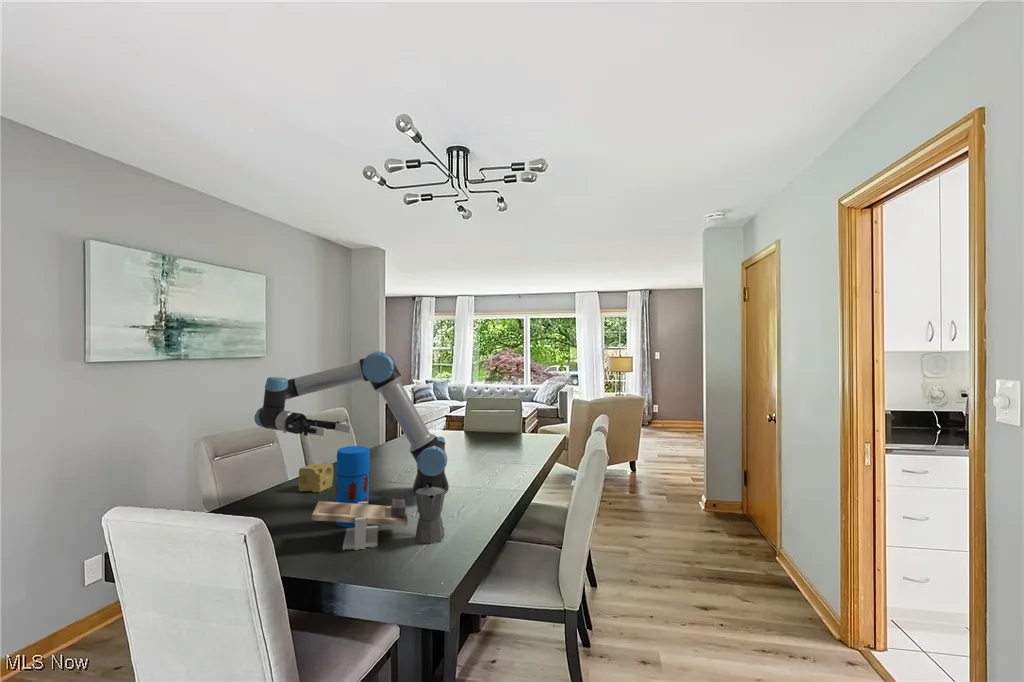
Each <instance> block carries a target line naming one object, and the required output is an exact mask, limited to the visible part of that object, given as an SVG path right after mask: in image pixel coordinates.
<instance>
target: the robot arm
mask: <svg viewBox="0 0 1024 682" xmlns="http://www.w3.org/2000/svg"><path fill="white" fill-rule="evenodd" d="M401 380H402V374H401V372H400V370H399V369H398V367H397V366H396V363H395V359H394V358H393V357H392V355H390V354H389V353H388V352H384V351H379V350H378V351H373V352H371V353H370V354H368V355H367V356H366V357H365V358H361V359H358V360H357V362H355V363H354V362H353V363H350V364H345V365H342V366H339V367H334V368H330V369H326V370H322V371H317V372H314V373H310V374H307V375H302V376H298V377H295V378H290V379H288V378H285V377H280V376H279V377H277V376H269V377H267V379H266V383H265V385H264V394H263V395H264V396H263V404H262V406H261V407H260V408H258V409H257V410H256V413H255V414H254V418H253V419H254V422H255V424H256V425H257V426H258V427H262V428H265V429H268V430H269V429H270V430H275V431H281V432H282V433H284V434H286V433H290V434H294V435H295V434H296V435H297V434H298V435H299V434H300V435H302V434H303V436H308V434H309V435H314V436H317V437H318V436H319V437H326V431H327V430H334V431H337V432H341V433H347V434H351V433H352V425H351V424H344V423H341V422H340V421H339V420H336V421H328V420H319V419H312V418H307V417H306V414H304V413H301V412H300V413H299V412H294V411H289V410H285V407H286V400H290V399H293V398H297V397H300V396H304V395H308V394H311V393H315V392H320V391H325V390H328V389H333V388H337V387H339V386H340V387H341V386H343V385H349V384H352V383H356V382H359V381H363V382H370V384H371V386H372V388H373V389H374V391H375V392H378V393H380V394H381V396H382V397H383V399H384V401H385V403H386V404H387V405H388V408H389V409H390V411H391V413H392V414H393V416H394V418H395V420H396V421H397V423H398V425H399V427H400V428H401V430H402V432H403V434H404V436H405V437H406V439H407V440H408V443H409V444H410V447H409V453H410V454H411V456H412V458H413V459H414V460H415V463H416V474H415V475H416V476H415V478H414V482H413V484H412V493H413V492H414V493H415V492H416V491H417V490H418V489H421V488H426V486H427V484H428V482H429V481H432V482H433V485H432V487H438V488H442V489H444V490H445V492H446V491H448V489H449V488H450V486H449V481H448V479H447V475H446V471H445V469H446V467H447V464H448V455H447V453H446V439H445V437H443V436H436V434H434V433H430V431H429V429H428V428H427V426H426V424H425V422H424V420H423V419H422V417H421V415H420V413H419V412H418V410H417V408H416V407H415V404H414V403H413V401H412V400H411V398H410V396H409V394H408V392H407V391H406V389H405V388H404V385H403V384H402V382H401ZM449 490H450V489H449ZM448 492H449V491H448ZM414 493H413V494H414ZM446 493H447V492H446Z"/></svg>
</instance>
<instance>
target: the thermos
mask: <svg viewBox="0 0 1024 682" xmlns="http://www.w3.org/2000/svg"><path fill="white" fill-rule="evenodd" d="M370 454H371V453H370V447H367V446H362V445H351V446H343V447H340V448H338V449H337V452H336V470H335V472H336V477H335V478H336V479H335V480H336V481H335V502H339V503H353V504H358V502H366V501H368V504H369V500H370V499H369V497H370V459H371V458H370V456H371V455H370ZM335 524H336V525H337V526H338V527H341V526H342V527H341V528H354V527H353V526H355V523H351V522H335Z"/></svg>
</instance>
